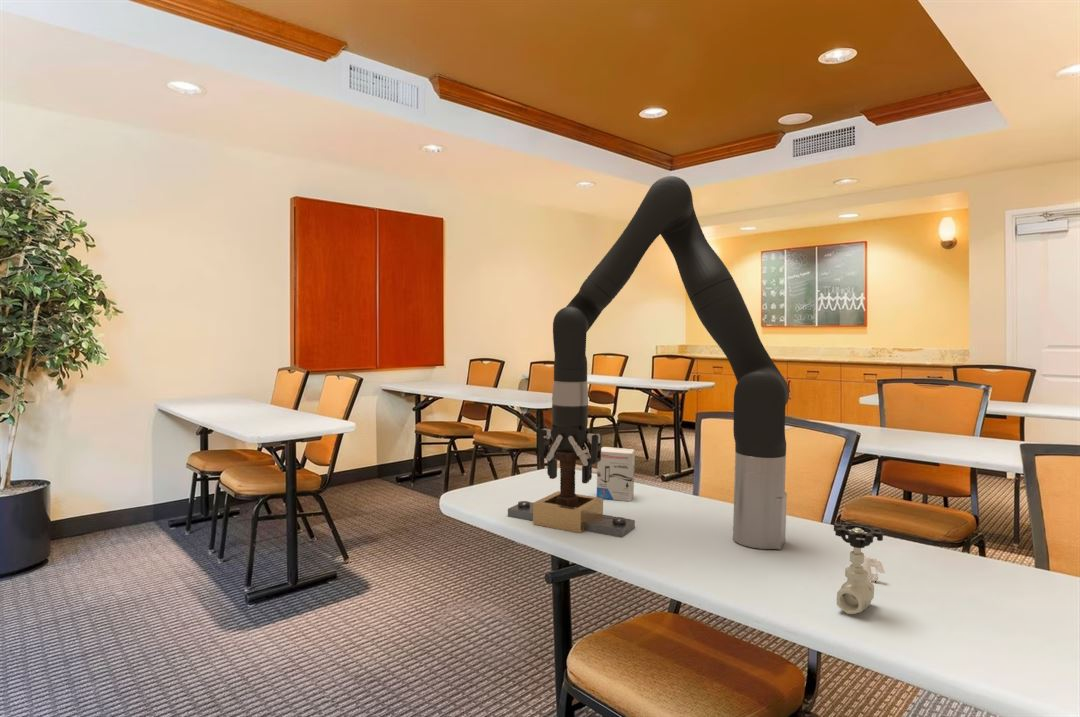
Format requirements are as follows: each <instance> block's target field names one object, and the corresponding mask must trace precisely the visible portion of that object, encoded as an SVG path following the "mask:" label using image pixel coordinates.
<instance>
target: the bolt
mask: <svg viewBox="0 0 1080 717" xmlns="http://www.w3.org/2000/svg"><path fill="white" fill-rule="evenodd" d="M556 460H557V461H559V468H560V469H559V474H560V475H559V479H560V480H559V482H560V483H559V485H560V486H559V487H560V488H559V490H560V492H561V493H560V494H559V495H558V496H557V505H563V506H569V507H575V506H577V505H578V496H577V495H576V494H577V493H576V466H577V464H576V462H577V461H578V460H580V461H581V459H580V457H578V456H577V454H576V452H571V451H568V450H565V451H563V450H558V451H556Z"/></svg>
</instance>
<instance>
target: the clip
mask: <svg viewBox="0 0 1080 717" xmlns="http://www.w3.org/2000/svg"><path fill="white" fill-rule="evenodd" d="M861 566H863V567H864V570H866V571H867V572H868V579H867V580H868V581H873V582H874V583H875V581H877V582H878V580H879V575H878V573H880V574H881V573H882V574H885V570H884V567H883V566H884V565H883V563H882V561H881V560H877V558H871V557H869V556H868V557H867V556H865V555H864V563H863V564H861ZM872 567H873V568H875V572H877V573H873V571H872Z"/></svg>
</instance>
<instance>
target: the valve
mask: <svg viewBox="0 0 1080 717" xmlns="http://www.w3.org/2000/svg"><path fill="white" fill-rule="evenodd" d="M833 531H834V532H835V536H836V537H841V539H842V540H843V542H845V543H847V544H849V546H850V547H853V550H852V551H850V553H849V562H850V563H851V564H850V565H849V566H847V567H845V570H844V571H845V572H844V576H845V577H846V578H847V581H845V582H843V584H842V585H841V587H840V588H839V590H838V591H837V592H836V606H837V607H838V608H840V609H841V610H842V611H843V612H844V613H846V614H847V613H848V614H851V615H855V614H858V613H859V614H860V613H862V612H863V611H864V610H865V609H867V608H868V607H869V606H870V605H871V603H872V601H873V599H874V598H875V597H874V596H875V585H874V583H873V582H870V581H868V580H867V579H868V572H867V571H866V570H864V567H863V566H862V565H863V563H864V556H865V553H863V552H862V549H865V547H868V546H869V547H870V545H871V544H872V543H874V538H876V541H878V542H882V541H883V540H884V533H883V532H882V531H881V528H879V527H873V526H872V527H868V524H867V523H859V524H853V523H852V522H850V521H844V522H843V525H842V524H841V523H833ZM848 614H847V615H848Z"/></svg>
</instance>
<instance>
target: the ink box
mask: <svg viewBox="0 0 1080 717" xmlns="http://www.w3.org/2000/svg"><path fill="white" fill-rule="evenodd" d="M635 457H636V449H633V448H624V447H623V448H622V447H610V446H601V461H599V462H597V465H596V466H597V467H596V468H597V469H596V470H597V471H596V472H597V473H596V497H598V498H603V500H610V499H612V500H611V501H620V500H621V502H631V501H632V500H633V498H634V488H635V465H636V464H635V461H636V460H635Z"/></svg>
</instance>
